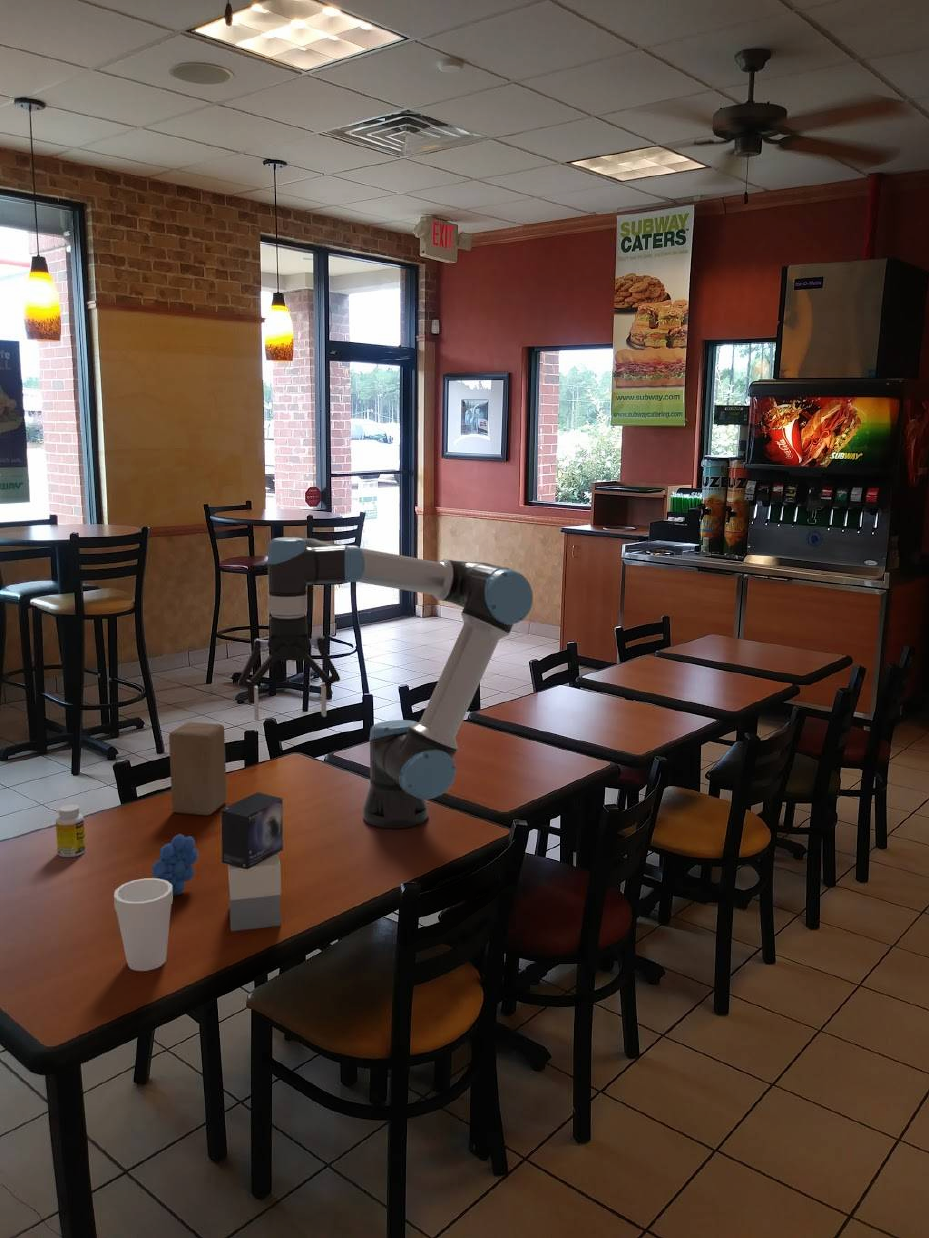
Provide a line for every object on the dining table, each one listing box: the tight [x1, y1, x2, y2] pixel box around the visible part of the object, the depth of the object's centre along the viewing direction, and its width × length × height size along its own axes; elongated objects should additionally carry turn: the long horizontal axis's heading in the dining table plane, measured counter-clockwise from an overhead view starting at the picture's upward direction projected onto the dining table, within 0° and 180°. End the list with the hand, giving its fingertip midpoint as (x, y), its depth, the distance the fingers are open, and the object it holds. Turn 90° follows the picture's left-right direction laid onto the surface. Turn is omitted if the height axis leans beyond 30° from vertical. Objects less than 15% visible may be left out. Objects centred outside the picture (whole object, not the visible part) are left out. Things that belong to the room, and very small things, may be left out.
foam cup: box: [113, 877, 174, 972], centre depth 168 cm, size 10×9×13 cm
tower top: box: [227, 852, 282, 900], centre depth 184 cm, size 9×9×6 cm
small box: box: [220, 792, 284, 869], centre depth 182 cm, size 11×6×10 cm, turn 152°
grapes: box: [151, 833, 199, 896], centre depth 193 cm, size 12×7×12 cm, turn 151°
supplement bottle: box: [55, 804, 86, 858], centre depth 211 cm, size 6×6×10 cm
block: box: [168, 721, 228, 816], centre depth 236 cm, size 10×10×20 cm
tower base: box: [228, 887, 282, 932], centre depth 185 cm, size 9×9×6 cm
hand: (290, 716), depth 203 cm, fingers open, 13 cm apart
